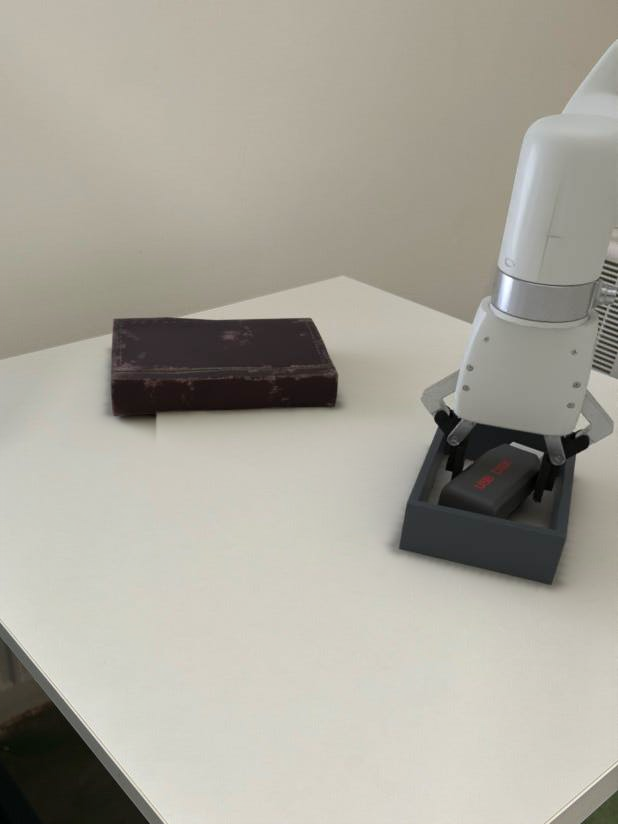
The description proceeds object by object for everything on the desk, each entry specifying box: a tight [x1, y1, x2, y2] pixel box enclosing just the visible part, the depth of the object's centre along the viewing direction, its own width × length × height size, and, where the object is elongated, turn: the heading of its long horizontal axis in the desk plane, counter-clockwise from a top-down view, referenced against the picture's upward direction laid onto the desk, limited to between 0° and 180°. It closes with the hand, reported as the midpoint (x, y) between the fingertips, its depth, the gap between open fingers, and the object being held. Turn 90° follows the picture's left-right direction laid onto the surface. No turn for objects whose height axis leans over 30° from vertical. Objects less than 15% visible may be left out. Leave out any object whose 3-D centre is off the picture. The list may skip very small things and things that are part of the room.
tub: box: [398, 409, 577, 586], centre depth 75 cm, size 19×13×6 cm
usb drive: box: [437, 442, 544, 519], centre depth 74 cm, size 5×12×3 cm, turn 138°
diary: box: [110, 316, 339, 417], centre depth 98 cm, size 19×25×5 cm
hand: (496, 484), depth 75 cm, fingers closed on usb drive, 6 cm apart
